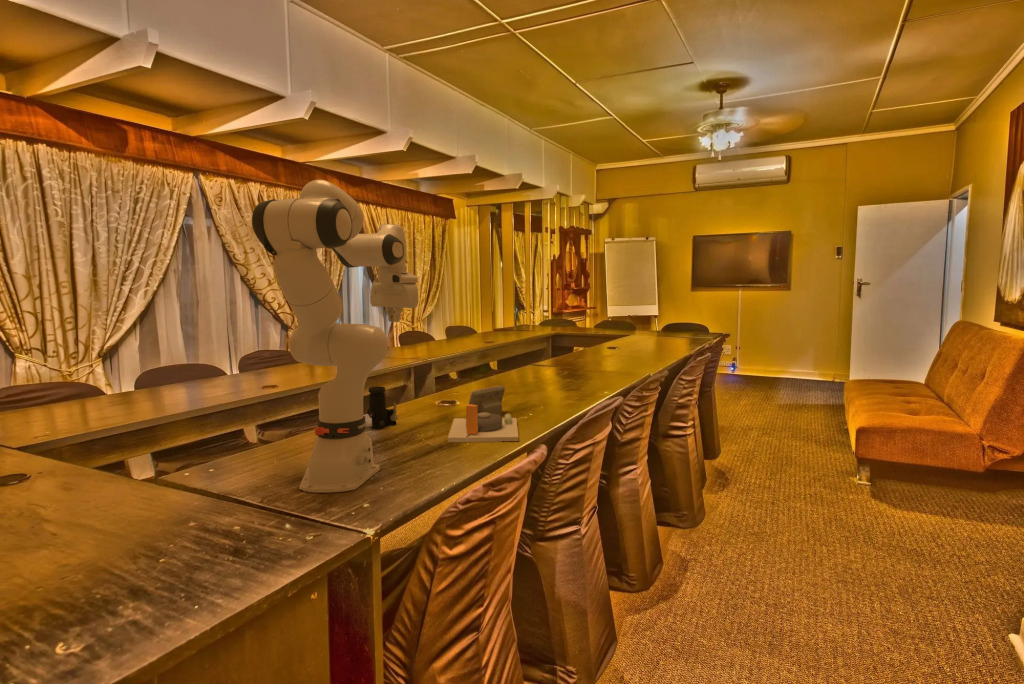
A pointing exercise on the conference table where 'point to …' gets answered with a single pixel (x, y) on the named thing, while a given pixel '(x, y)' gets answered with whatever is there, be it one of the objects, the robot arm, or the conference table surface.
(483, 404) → the digital clock
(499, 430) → the base
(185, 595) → the conference table surface
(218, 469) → the conference table surface
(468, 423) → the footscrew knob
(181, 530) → the conference table surface
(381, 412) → the scope
